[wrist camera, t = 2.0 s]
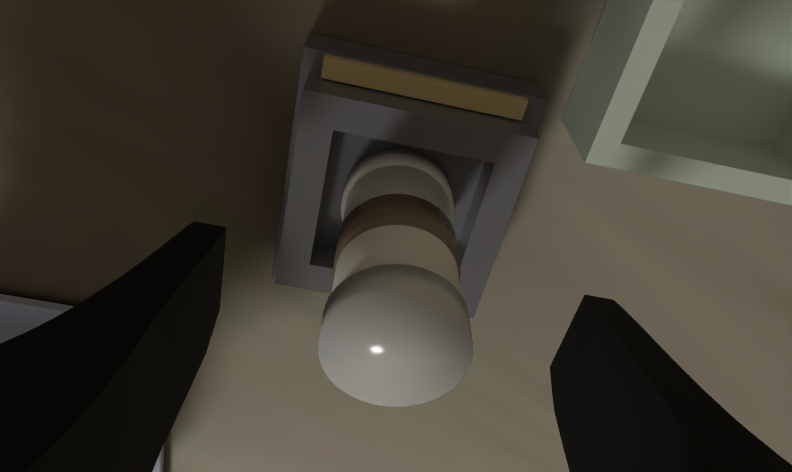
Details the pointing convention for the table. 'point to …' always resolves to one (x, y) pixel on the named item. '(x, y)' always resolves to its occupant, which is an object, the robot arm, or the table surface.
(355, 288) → the cylinder
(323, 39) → the grey square holder
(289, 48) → the table surface
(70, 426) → the robot arm
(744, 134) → the parts tray
